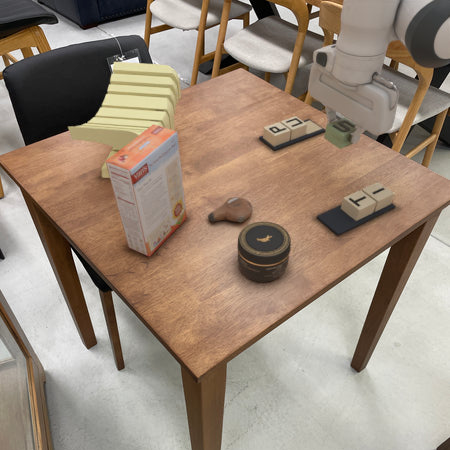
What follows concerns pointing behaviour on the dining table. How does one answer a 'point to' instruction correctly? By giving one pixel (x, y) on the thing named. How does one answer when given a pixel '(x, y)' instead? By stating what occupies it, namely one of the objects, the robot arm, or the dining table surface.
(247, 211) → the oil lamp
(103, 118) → the slatted curved stool
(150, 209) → the cracker box
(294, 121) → the word back
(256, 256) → the jar
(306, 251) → the dining table surface
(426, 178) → the dining table surface
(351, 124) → the s tile
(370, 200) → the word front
